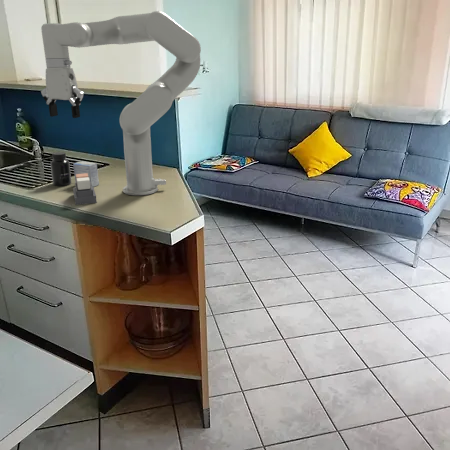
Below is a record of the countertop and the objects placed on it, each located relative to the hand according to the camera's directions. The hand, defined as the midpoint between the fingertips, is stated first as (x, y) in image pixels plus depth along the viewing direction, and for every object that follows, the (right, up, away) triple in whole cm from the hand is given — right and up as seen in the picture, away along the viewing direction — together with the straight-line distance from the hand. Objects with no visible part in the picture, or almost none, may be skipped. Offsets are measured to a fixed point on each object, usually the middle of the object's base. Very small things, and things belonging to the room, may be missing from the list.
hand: (65, 116), depth 162 cm
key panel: (+6, -28, +4) cm, 29 cm away
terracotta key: (+5, -22, +5) cm, 23 cm away
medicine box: (+2, -22, +19) cm, 30 cm away
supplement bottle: (-8, -21, +21) cm, 31 cm away
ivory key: (+6, -24, 0) cm, 25 cm away
